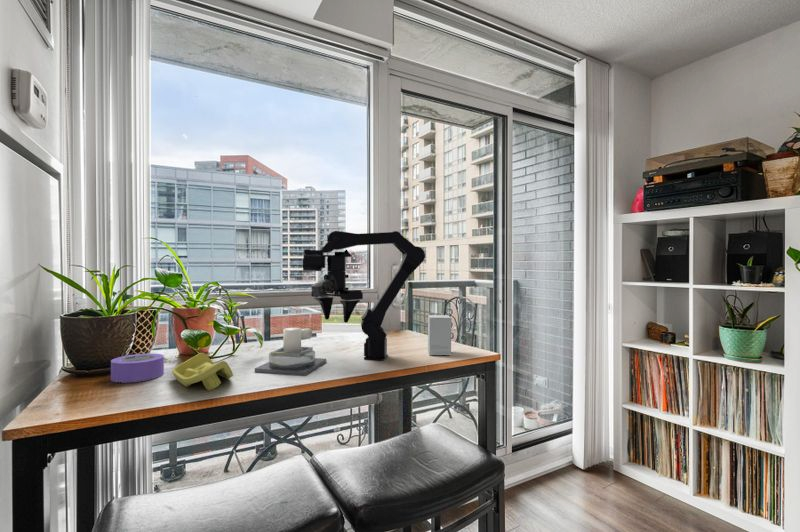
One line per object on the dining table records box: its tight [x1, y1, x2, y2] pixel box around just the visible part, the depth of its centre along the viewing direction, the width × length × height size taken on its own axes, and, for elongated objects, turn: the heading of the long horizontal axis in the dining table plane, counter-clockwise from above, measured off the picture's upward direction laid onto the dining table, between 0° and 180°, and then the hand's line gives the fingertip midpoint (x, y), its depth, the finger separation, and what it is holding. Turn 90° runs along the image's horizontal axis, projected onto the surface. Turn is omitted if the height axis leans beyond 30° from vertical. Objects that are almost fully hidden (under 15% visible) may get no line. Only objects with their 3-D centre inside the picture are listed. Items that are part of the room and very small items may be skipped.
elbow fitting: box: [282, 327, 313, 353], centre depth 119 cm, size 8×5×7 cm, turn 138°
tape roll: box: [110, 353, 165, 384], centre depth 107 cm, size 12×12×5 cm
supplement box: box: [427, 314, 452, 356], centre depth 136 cm, size 7×7×13 cm
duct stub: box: [254, 346, 327, 376], centre depth 118 cm, size 15×15×5 cm
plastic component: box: [171, 352, 234, 391], centre depth 101 cm, size 20×7×10 cm
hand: (336, 320), depth 128 cm, fingers open, 9 cm apart
